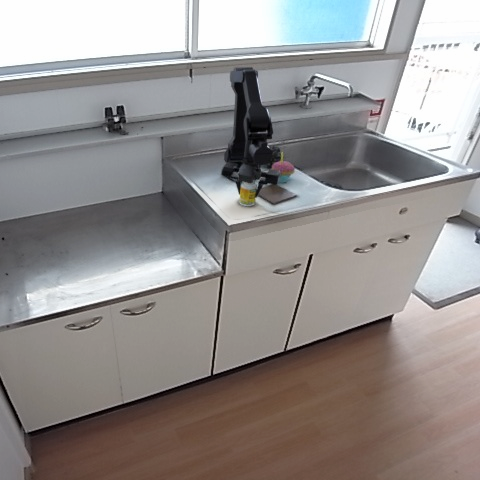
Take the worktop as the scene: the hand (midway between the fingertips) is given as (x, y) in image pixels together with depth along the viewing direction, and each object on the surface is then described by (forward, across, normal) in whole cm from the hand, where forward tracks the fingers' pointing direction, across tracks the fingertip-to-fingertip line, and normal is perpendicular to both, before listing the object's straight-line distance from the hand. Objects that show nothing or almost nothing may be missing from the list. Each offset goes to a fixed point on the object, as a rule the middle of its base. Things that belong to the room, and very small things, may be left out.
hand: (247, 195), depth 135 cm
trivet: (+2, +7, +10) cm, 12 cm away
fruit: (+3, 0, +37) cm, 37 cm away
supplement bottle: (+3, 0, 0) cm, 3 cm away
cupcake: (+3, +7, +23) cm, 24 cm away
